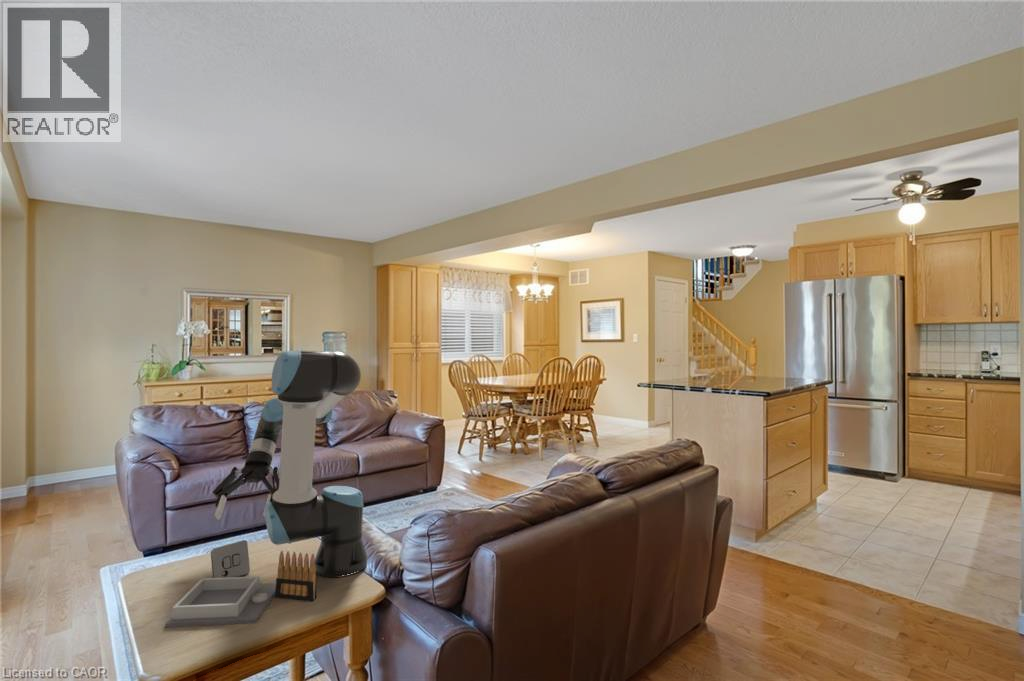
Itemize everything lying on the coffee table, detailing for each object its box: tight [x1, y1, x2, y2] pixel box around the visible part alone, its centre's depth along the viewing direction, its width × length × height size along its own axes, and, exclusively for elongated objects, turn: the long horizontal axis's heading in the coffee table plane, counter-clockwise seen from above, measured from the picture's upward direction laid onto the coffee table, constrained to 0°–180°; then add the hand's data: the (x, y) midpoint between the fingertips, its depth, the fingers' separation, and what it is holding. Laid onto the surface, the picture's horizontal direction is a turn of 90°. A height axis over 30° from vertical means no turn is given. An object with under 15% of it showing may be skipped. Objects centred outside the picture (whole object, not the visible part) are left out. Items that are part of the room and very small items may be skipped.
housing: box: [164, 575, 276, 628], centre depth 127 cm, size 20×18×4 cm
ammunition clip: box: [274, 550, 317, 603], centre depth 131 cm, size 11×2×12 cm, turn 82°
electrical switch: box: [210, 539, 251, 578], centre depth 142 cm, size 9×5×9 cm, turn 141°
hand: (241, 517), depth 151 cm, fingers open, 13 cm apart
